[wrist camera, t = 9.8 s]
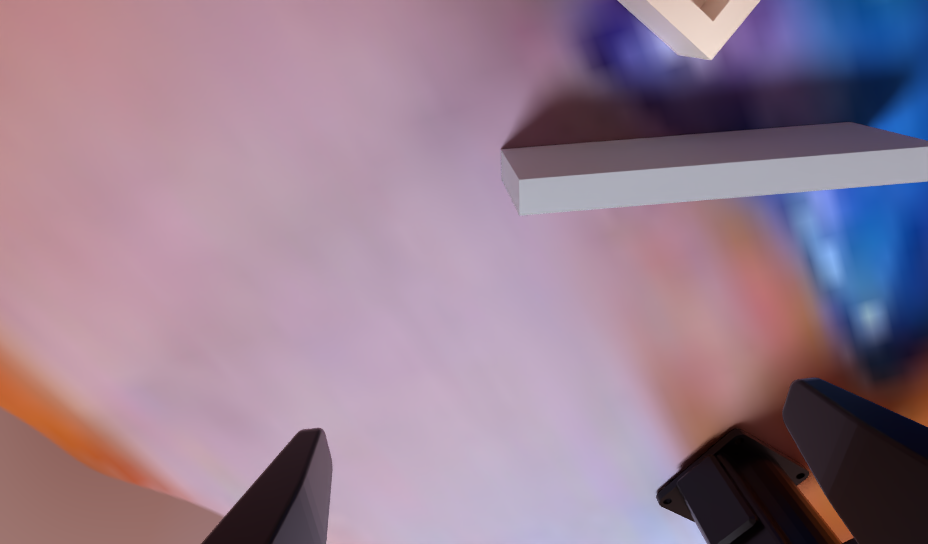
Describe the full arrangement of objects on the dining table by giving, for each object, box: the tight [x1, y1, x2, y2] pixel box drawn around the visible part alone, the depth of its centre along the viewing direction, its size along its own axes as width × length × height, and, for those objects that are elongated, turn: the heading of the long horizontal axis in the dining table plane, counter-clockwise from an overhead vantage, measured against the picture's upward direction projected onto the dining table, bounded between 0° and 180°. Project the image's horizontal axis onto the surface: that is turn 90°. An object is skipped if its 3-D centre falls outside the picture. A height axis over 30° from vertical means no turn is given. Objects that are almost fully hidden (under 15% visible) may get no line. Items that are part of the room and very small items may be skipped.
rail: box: [501, 122, 928, 216], centre depth 18 cm, size 14×1×4 cm, turn 93°
